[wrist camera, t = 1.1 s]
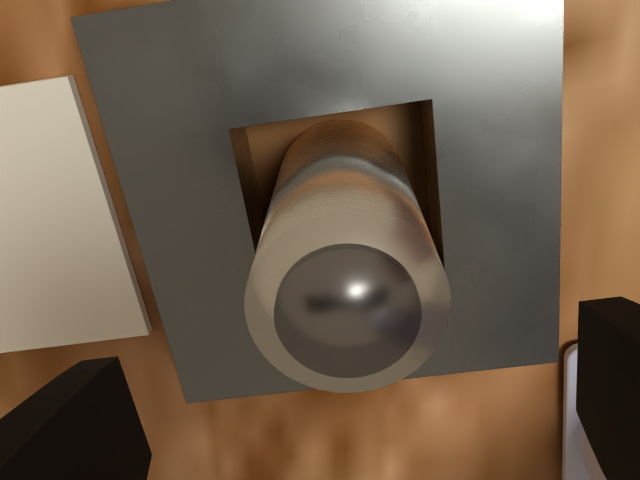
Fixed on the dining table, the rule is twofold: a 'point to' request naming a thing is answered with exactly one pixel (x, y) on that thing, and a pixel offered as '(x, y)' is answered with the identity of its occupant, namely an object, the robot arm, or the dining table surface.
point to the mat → (59, 227)
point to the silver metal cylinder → (345, 266)
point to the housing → (328, 98)
